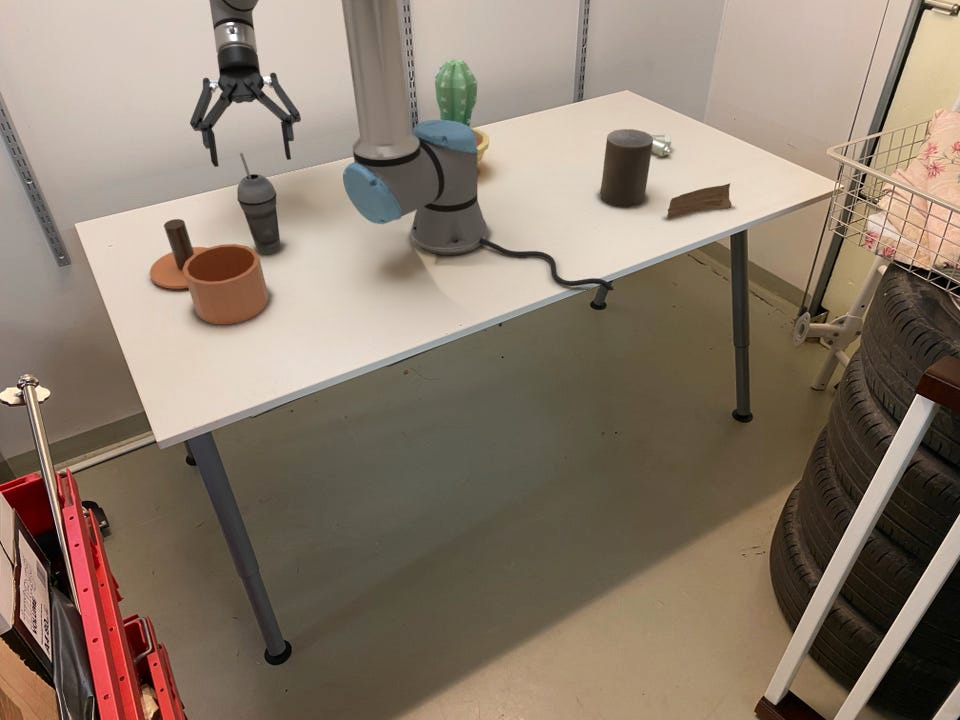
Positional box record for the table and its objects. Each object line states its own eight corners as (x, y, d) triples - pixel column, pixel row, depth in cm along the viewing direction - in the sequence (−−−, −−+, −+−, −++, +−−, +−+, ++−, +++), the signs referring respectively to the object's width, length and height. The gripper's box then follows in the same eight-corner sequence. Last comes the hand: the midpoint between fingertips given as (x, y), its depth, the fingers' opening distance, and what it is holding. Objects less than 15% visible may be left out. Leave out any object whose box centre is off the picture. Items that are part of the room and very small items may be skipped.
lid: (239, 258, 142) (227, 211, 135) (199, 296, 132) (183, 248, 125) (180, 247, 145) (165, 201, 138) (136, 284, 135) (118, 236, 128)
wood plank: (670, 222, 151) (674, 200, 148) (665, 217, 153) (668, 196, 149) (730, 207, 156) (736, 186, 152) (724, 203, 157) (729, 182, 154)
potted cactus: (496, 161, 174) (496, 53, 158) (481, 190, 162) (481, 77, 146) (434, 155, 177) (428, 48, 160) (416, 183, 165) (408, 72, 149)
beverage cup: (278, 259, 141) (257, 163, 128) (244, 256, 142) (219, 160, 129) (293, 240, 146) (274, 146, 133) (259, 237, 148) (237, 143, 135)
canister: (281, 289, 133) (272, 250, 128) (244, 330, 124) (232, 289, 119) (221, 278, 136) (210, 239, 131) (181, 317, 127) (167, 276, 122)
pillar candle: (625, 212, 154) (634, 145, 145) (590, 196, 160) (597, 130, 150) (653, 197, 159) (664, 132, 149) (619, 182, 165) (628, 118, 155)
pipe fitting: (671, 159, 175) (666, 146, 179) (674, 145, 172) (669, 131, 177) (638, 160, 175) (634, 146, 179) (640, 145, 172) (636, 131, 177)
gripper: (164, 48, 133) (178, 159, 132) (301, 39, 137) (316, 146, 136) (175, 68, 141) (188, 174, 139) (304, 58, 145) (319, 161, 143)
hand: (252, 160), depth 138 cm, fingers open, 13 cm apart
